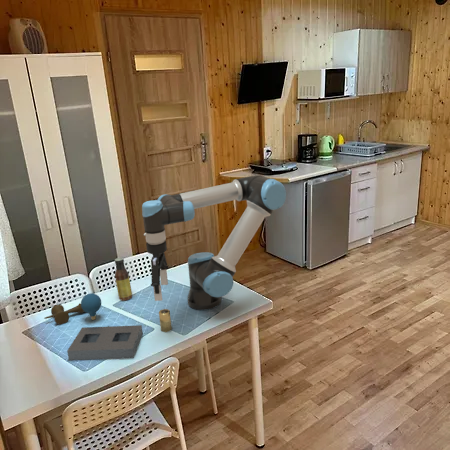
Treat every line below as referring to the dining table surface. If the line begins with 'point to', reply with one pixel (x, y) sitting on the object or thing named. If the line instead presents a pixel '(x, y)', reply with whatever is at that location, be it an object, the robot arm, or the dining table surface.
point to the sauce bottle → (122, 280)
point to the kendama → (63, 313)
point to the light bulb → (91, 304)
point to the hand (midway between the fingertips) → (161, 292)
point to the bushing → (165, 320)
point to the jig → (105, 343)
